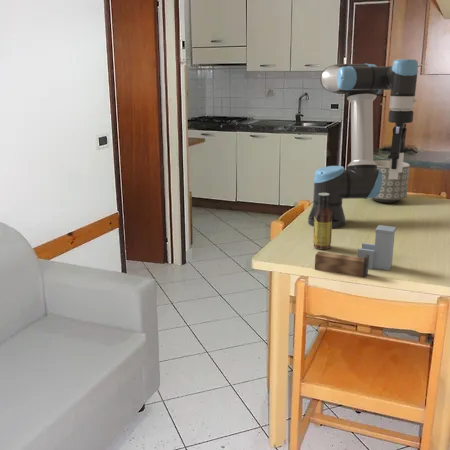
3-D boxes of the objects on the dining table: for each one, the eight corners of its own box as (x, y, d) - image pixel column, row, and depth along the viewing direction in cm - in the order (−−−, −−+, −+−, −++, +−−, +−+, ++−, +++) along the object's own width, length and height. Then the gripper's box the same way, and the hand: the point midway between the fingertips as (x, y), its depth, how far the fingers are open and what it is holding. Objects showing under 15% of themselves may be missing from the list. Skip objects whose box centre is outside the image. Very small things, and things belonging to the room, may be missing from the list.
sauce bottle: (318, 243, 194) (321, 190, 188) (334, 247, 190) (337, 193, 185) (309, 248, 189) (311, 193, 184) (325, 251, 185) (327, 196, 180)
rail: (314, 269, 169) (315, 250, 167) (317, 265, 172) (318, 247, 170) (365, 277, 162) (366, 258, 161) (367, 273, 166) (369, 254, 164)
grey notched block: (356, 266, 171) (359, 228, 168) (361, 259, 178) (364, 222, 174) (389, 271, 167) (392, 232, 163) (392, 264, 173) (396, 226, 170)
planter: (357, 197, 262) (360, 161, 257) (390, 195, 267) (394, 159, 262) (379, 207, 245) (382, 168, 239) (414, 204, 250) (418, 165, 245)
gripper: (410, 112, 157) (403, 183, 163) (416, 107, 179) (411, 170, 185) (384, 112, 160) (378, 181, 166) (393, 107, 182) (388, 168, 188)
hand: (395, 175), depth 176 cm, fingers open, 13 cm apart
